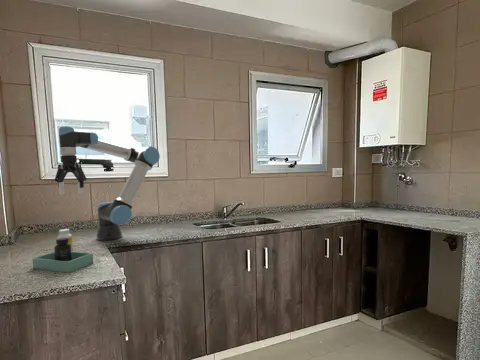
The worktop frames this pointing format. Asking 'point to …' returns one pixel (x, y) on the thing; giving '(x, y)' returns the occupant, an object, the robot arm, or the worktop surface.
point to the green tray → (63, 262)
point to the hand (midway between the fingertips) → (71, 194)
